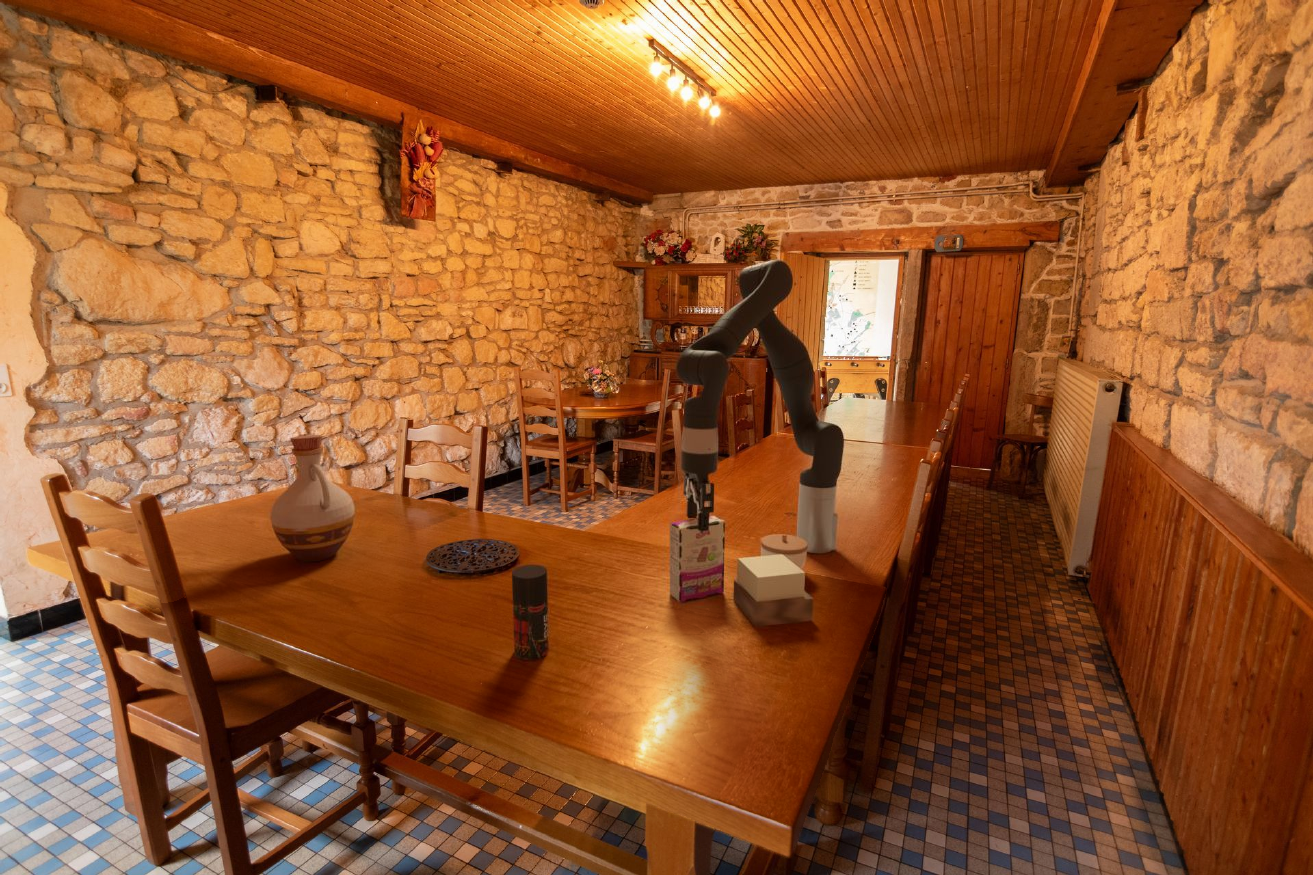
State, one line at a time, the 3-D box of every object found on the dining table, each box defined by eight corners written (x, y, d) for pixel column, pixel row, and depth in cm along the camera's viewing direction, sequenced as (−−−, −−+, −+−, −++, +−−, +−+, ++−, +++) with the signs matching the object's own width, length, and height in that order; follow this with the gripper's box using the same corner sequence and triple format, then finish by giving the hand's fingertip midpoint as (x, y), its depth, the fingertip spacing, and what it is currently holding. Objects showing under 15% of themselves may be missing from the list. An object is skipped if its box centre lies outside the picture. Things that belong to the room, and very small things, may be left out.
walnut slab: (785, 596, 132) (787, 574, 131) (811, 622, 121) (813, 598, 120) (733, 601, 130) (734, 579, 129) (754, 628, 118) (755, 604, 117)
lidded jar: (754, 578, 141) (756, 539, 139) (764, 561, 150) (766, 525, 149) (802, 585, 137) (804, 545, 135) (809, 568, 147) (811, 530, 145)
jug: (372, 557, 150) (363, 436, 145) (291, 578, 137) (278, 447, 132) (341, 537, 163) (332, 426, 158) (265, 555, 150) (251, 435, 145)
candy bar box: (711, 584, 137) (714, 514, 134) (724, 593, 132) (726, 520, 129) (667, 594, 132) (668, 521, 129) (679, 603, 127) (680, 528, 124)
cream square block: (781, 576, 130) (782, 554, 129) (803, 596, 121) (805, 572, 120) (737, 580, 128) (737, 558, 127) (756, 601, 118) (757, 577, 117)
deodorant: (516, 643, 111) (514, 564, 108) (550, 642, 111) (548, 564, 109) (512, 661, 105) (509, 578, 102) (547, 659, 105) (545, 577, 103)
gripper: (728, 455, 120) (725, 534, 123) (707, 441, 134) (704, 512, 137) (691, 456, 119) (688, 536, 121) (673, 442, 132) (671, 514, 135)
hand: (697, 523), depth 129 cm, fingers open, 8 cm apart
